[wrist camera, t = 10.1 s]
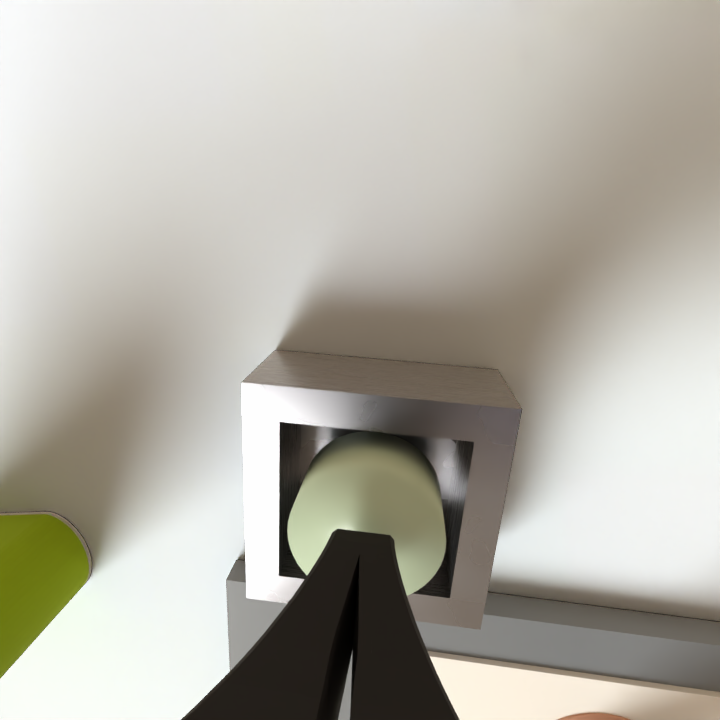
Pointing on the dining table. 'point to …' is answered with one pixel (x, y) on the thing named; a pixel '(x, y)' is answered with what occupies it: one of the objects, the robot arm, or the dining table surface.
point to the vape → (36, 576)
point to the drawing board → (545, 659)
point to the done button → (372, 503)
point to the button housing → (392, 416)
